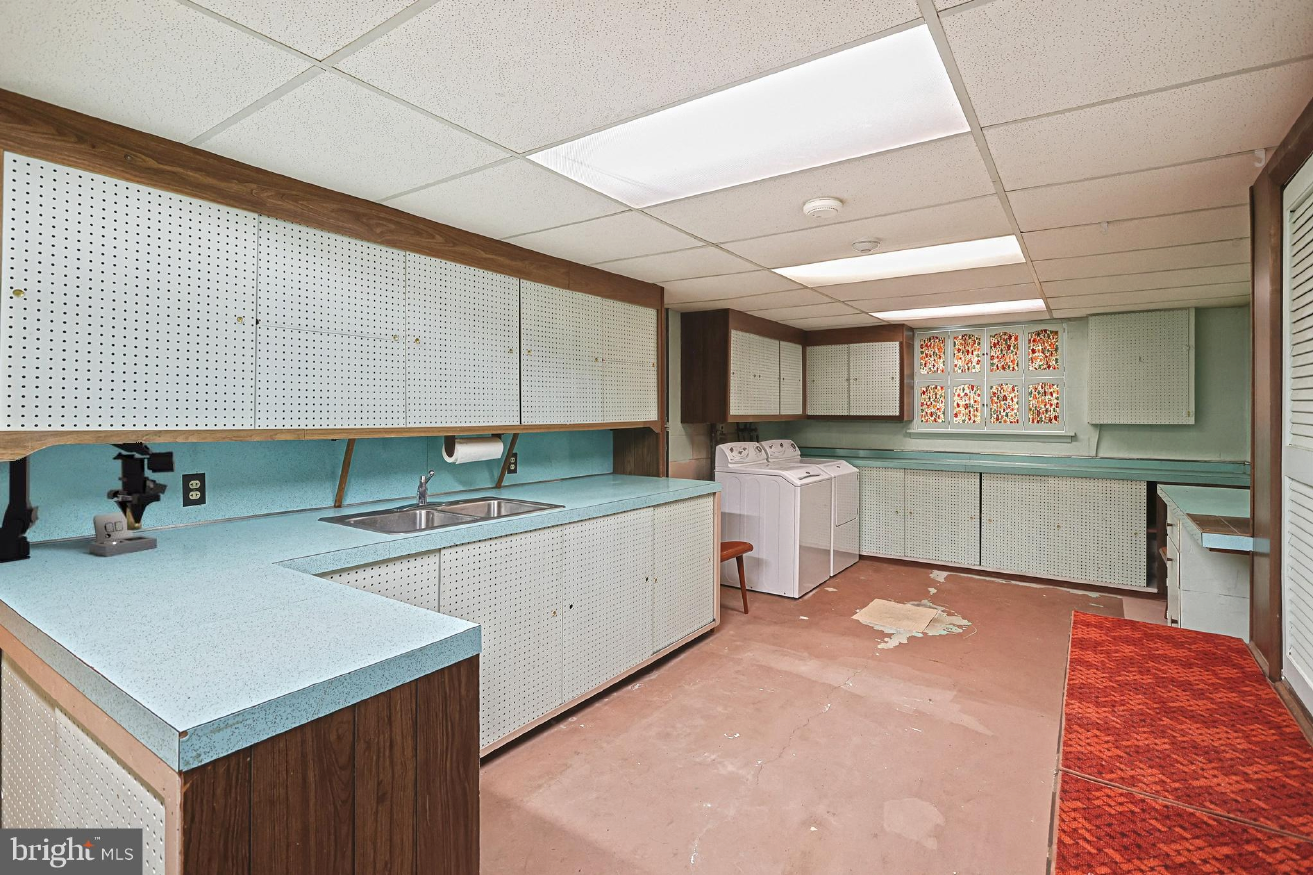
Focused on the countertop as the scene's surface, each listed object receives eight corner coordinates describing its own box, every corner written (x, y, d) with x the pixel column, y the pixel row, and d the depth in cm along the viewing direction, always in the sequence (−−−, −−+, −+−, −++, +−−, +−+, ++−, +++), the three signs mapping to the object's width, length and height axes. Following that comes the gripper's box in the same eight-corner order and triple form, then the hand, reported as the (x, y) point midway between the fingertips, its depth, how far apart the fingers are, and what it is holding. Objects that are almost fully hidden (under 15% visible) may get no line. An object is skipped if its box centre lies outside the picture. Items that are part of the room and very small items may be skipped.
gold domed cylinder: (130, 530, 192) (130, 508, 191) (124, 529, 193) (124, 507, 193) (144, 528, 195) (143, 506, 195) (138, 527, 197) (137, 505, 196)
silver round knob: (107, 554, 187) (107, 543, 187) (101, 553, 188) (101, 541, 188) (122, 552, 190) (122, 540, 190) (116, 550, 192) (115, 539, 191)
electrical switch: (98, 544, 199) (96, 515, 199) (91, 543, 202) (89, 515, 202) (133, 538, 208) (131, 511, 208) (126, 538, 210) (124, 511, 210)
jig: (106, 556, 184) (106, 546, 184) (89, 552, 188) (89, 542, 188) (157, 547, 196) (156, 538, 195) (140, 544, 200) (139, 535, 200)
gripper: (179, 473, 197) (180, 521, 197) (147, 469, 205) (148, 516, 205) (137, 476, 187) (138, 527, 187) (105, 472, 195) (106, 521, 195)
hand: (134, 522), depth 194 cm, fingers closed on gold domed cylinder, 4 cm apart
